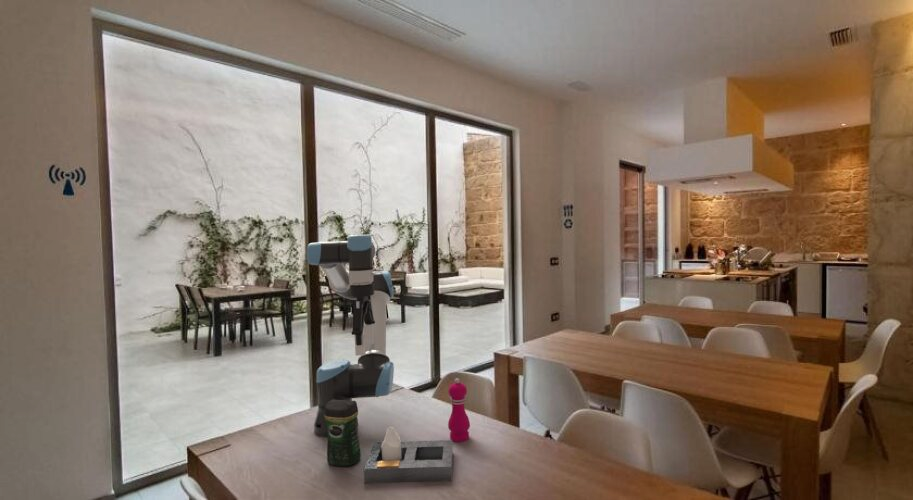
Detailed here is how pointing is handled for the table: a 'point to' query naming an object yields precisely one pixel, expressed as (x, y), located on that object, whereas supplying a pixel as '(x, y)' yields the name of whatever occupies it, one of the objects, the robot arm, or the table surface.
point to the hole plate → (411, 463)
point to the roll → (391, 446)
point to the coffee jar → (342, 432)
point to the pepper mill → (458, 413)
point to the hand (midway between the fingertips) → (365, 349)
